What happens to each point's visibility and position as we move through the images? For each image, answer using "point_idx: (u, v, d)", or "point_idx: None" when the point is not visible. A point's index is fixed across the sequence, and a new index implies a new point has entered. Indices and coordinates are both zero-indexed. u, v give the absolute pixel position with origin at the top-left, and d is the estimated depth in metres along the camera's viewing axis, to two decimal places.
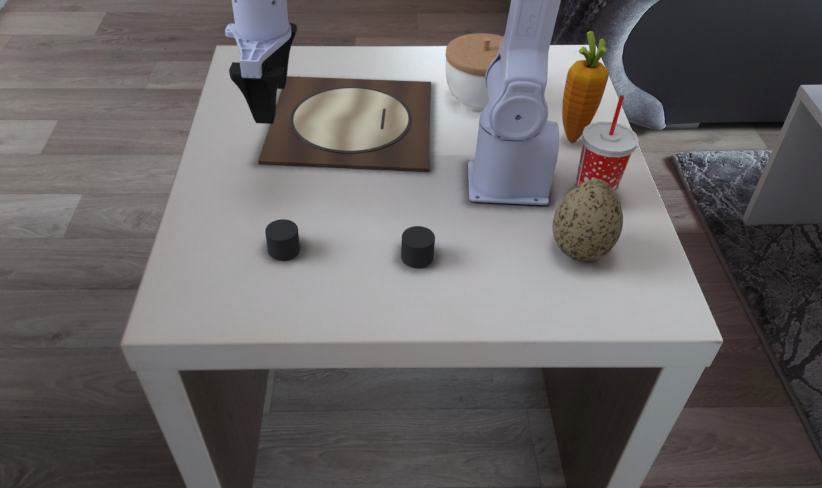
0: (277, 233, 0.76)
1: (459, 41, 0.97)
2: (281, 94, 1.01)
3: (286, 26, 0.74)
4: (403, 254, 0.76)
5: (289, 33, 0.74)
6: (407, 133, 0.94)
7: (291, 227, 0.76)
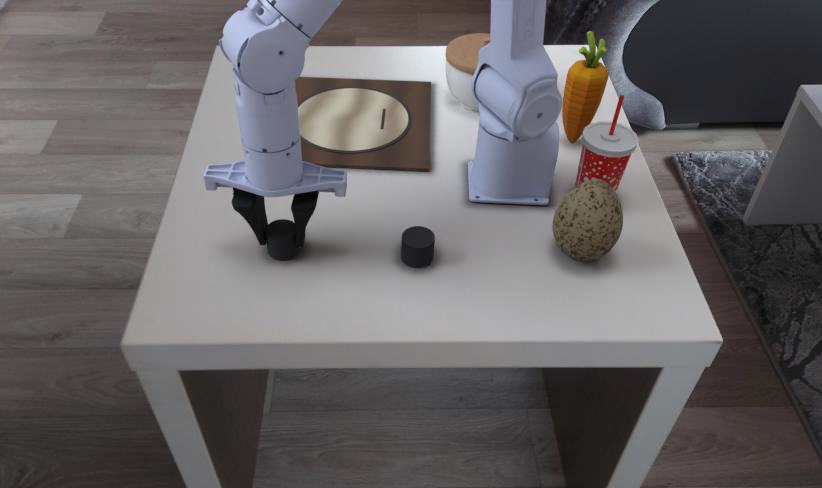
0: (277, 233, 0.76)
1: (459, 41, 0.97)
2: None
3: (262, 184, 0.68)
4: (403, 254, 0.76)
5: (265, 192, 0.69)
6: (407, 133, 0.94)
7: (291, 227, 0.76)
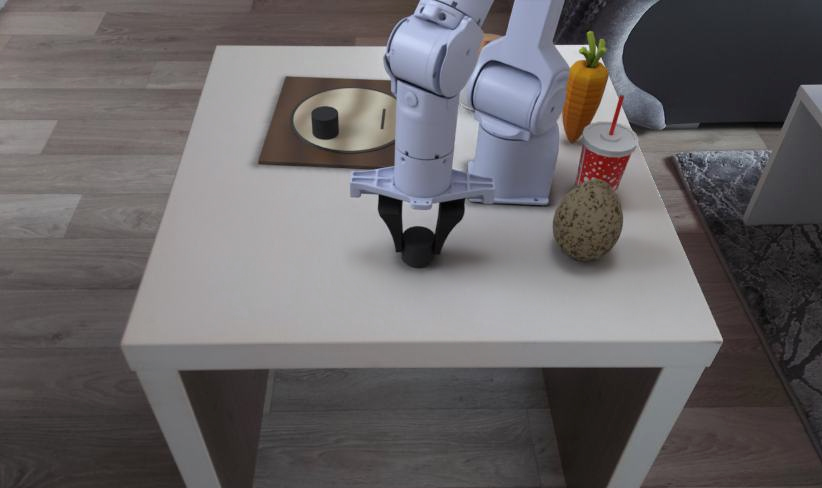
0: (321, 115, 0.91)
1: None
2: (281, 94, 1.01)
3: None
4: (403, 254, 0.76)
5: None
6: None
7: (332, 111, 0.92)
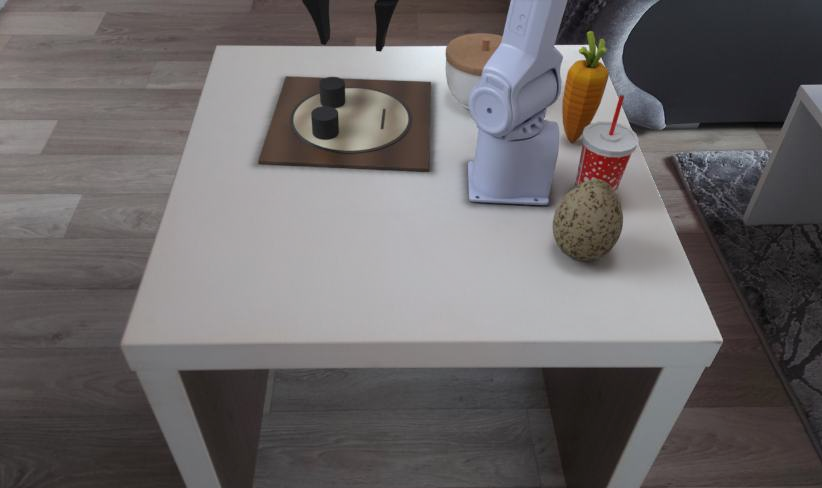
0: (321, 115, 0.91)
1: (459, 41, 0.97)
2: (281, 94, 1.01)
3: None
4: (320, 97, 0.98)
5: None
6: (407, 133, 0.94)
7: (332, 111, 0.92)
